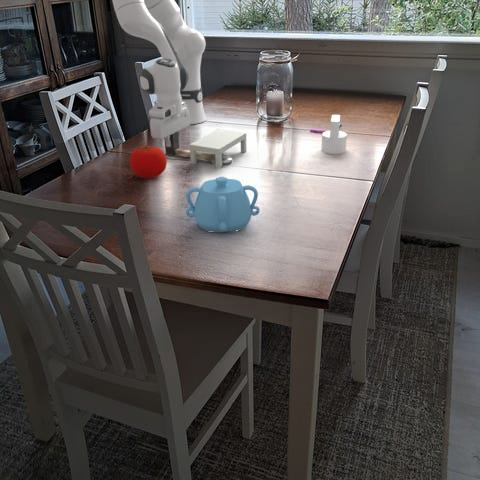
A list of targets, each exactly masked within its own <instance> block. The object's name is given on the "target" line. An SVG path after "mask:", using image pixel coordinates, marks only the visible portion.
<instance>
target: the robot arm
mask: <svg viewBox="0 0 480 480" xmlns="http://www.w3.org/2000/svg"><path fill="white" fill-rule="evenodd" d="M111 1H112V4H113V9H114V12H115V16H116V18H117V20H118V23H119V25H120V27H121V28H122V29H123V31H124V32H125V33H127V34H128V35H130V36H133V37H136V38H141V39H144V40H145V41H149V42H151V43H152V44H154V45H155V47H157V50H158V52H159V54H160V56H161V58H160V59H159V58H158V59H157V60H155V62H154V64H152V65H150V66H147V67H145V68H142V70H141V71H140V73H139V77H138V83H139V87H140V89H141V90H142V92H144V93H145V94H147V95H151V96H152V95H155V96H156V103H155V104H154V105H153V106H152V108H150V109H149V111H148V117H150V121H149V128H150V135H151V137H152V139H153V140H158V141H161V140H163V141H164V140H165V141H164V143H165V142H166V146H167V147H171V146H172V141H170V139H169V138H170V135H172V134H174V133H176V132H178V136H179V143H180V141H181V140H180V138H181V134H182V130H184V129H186V128H188V127H190V125H195V124H196V125H197V124H201V123H204V122H205V121H207V116H206V114H205V111H204V105H203V88H202V84H201V64H202V57H203V53H204V52H205V49H206V45H207V44H206V38H205V37H204V35H202V33H201V32H200V31H199V30H197V29H195V28H192V27H189V26H188V25H187V24H186V22H185V20H184V18H183V15H182V14H181V8H180V7H179V5H178V4H177V2H176V1H175V0H111Z"/></svg>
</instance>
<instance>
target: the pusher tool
mask: <svg viewBox="0 0 480 480" xmlns="http://www.w3.org/2000/svg"><path fill="white" fill-rule="evenodd" d="M169 139H170V141H172V146H171V147H167V146H166V142H165V140H164V139H163V141H164V149H165V151H164V152H165V155H166V156H167V155H169V156H174V157H175V156H178V157H185V158H189V159H190V149H184V148H180V142H179V136H178V132H176V133H174V134H172V135H170V138H169ZM196 155H197V160H201V161H206V162H207V161H209V162H211V163H212V164H213V165H216V159H215V154H211V153H205V152H199V151H196ZM222 156H224V153H222ZM212 164H211V165H212Z"/></svg>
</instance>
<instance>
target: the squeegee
mask: <svg viewBox="0 0 480 480" xmlns="http://www.w3.org/2000/svg"><path fill="white" fill-rule="evenodd" d="M340 126H342V122H340V125H339V127H340ZM326 131H327V130H316V129H310V131H309V133H311V132H313V134H322V133H323V132H326Z"/></svg>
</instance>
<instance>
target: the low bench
mask: <svg viewBox="0 0 480 480" xmlns="http://www.w3.org/2000/svg"><path fill="white" fill-rule="evenodd" d="M239 143H240V152H242V153H246V152H247V132H244V131H235V130H227V129H223V128H222V129H220V128H216V130H214V131H211V132H210V133H207V135H204V136H203V137H200V138H198V139H196V140H195V141H193V142H191V143H190V144H189V150H190V158H189V160H190V164H191V165H193V164H194V165H195V164H197V163H198V159H197V155H196V151H197V152H203V153H209V154H215V159H216V164H215V168H216V169H222V167H223V165H222V154H224V153H226V151H228V150H229V149H231V148H232V147H234V146H236V145H237V144H239Z"/></svg>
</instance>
